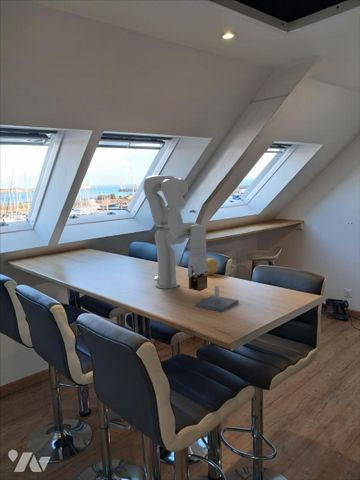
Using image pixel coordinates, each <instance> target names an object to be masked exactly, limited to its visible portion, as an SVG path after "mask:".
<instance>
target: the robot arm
mask: <svg viewBox="0 0 360 480" xmlns="http://www.w3.org/2000/svg"><path fill="white" fill-rule="evenodd" d="M188 191H189V186H188V183H187V181H186V180H185V179H184V178H181V177H178V176H174V175H151V176H147V177H146V178H145V179H144V181H143V192H144V196H145V198H146V200H147V203H148V205H149V209H150V213H151V217H152V220H153V223H154V225H155V226H156V227H159V229H158V230H156V231H155V233H154V241H155V244H156V245H155V246H156V255H157V273H158V276H155V277H154V278H153V280H154V281H156V283H155V287H156V288H159V289H165V290H166V289H168V290H169V289H174V288H177V287H179V285H180V283H179V282H178V281H177V274H176V252H175V251H174V249H173V247H172V246H174V245H181V244H183V243H185V242H186V239H189V244H190V245H189V250H190V251H189V252H190V254H189V256H188V262H187V263H188V264H187V265H188V266H187V277H188V280H189V279H190V281H191V288H192V289H197V281H196V278H197V275H204V276H207V270H208V267H207V227H206V226H205V225H204V224H199V223H197V222H193V221H192V222H184V220H183V217H182V213H181V212H180V211H182V210H183V209H184V208H185V206H186V201H185V197H183V195H187V194H188ZM160 192H162V194H163V196H162V195H161V194H160ZM163 197H164V198H163ZM165 201H166V202H165ZM166 203H167V205H166ZM167 206H168V207H167ZM160 227H161V228H160ZM163 227H164V228H163ZM193 276H195V277H193ZM192 289H191V290H192Z"/></svg>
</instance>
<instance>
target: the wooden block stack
mask: <svg viewBox="0 0 360 480" xmlns="http://www.w3.org/2000/svg"><path fill="white" fill-rule="evenodd" d="M193 277H195V276H193ZM196 281H197V289H192V288H191V281H190V279H189V278H188V289H189V290H192V291H197V292H202V291H203V290H205V289H207V288H208V275H206V276H204V275H200V274H199V275H197V278H196Z"/></svg>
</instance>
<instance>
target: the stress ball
mask: <svg viewBox="0 0 360 480" xmlns="http://www.w3.org/2000/svg"><path fill="white" fill-rule="evenodd" d="M207 267H208V270H207V273H206V275H207V276H208V275H209V276H211V275H214V274H215V273H217V272H218V270H219V263H218V261H217V260H216V259H215V258H213V257H209V258H207Z"/></svg>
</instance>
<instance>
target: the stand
mask: <svg viewBox="0 0 360 480" xmlns="http://www.w3.org/2000/svg"><path fill="white" fill-rule="evenodd" d="M194 303H195V304H194V305H195V307H197V308H200V309H207V310H211V311H216V312H220V313H224V312H225V311H227V310H229V309H231V308H232V307H234V306H236V305H238V304H239V299H235V298H229V297H223V296H220V286H219V285H215V286H214V295H210V296H208V297H206V298H204V299H202V300H199V301H198V302H194Z"/></svg>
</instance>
